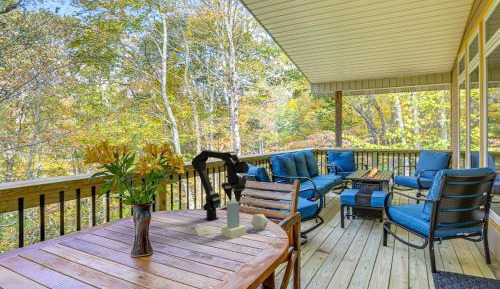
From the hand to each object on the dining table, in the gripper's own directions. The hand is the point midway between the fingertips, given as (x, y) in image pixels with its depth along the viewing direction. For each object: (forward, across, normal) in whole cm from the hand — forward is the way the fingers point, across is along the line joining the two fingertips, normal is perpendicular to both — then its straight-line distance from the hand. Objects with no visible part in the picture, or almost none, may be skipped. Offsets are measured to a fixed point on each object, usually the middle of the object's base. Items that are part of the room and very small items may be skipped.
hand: (234, 200), depth 167 cm
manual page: (+12, -1, +20) cm, 23 cm away
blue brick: (+10, -15, +10) cm, 20 cm away
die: (+14, -16, -6) cm, 22 cm away
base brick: (+14, -15, +10) cm, 22 cm away
